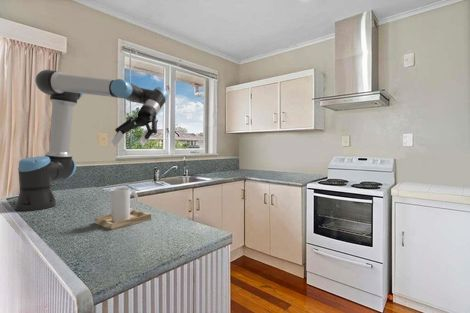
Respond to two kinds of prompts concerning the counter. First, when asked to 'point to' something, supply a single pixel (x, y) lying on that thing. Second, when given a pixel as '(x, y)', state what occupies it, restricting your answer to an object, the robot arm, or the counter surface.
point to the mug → (122, 203)
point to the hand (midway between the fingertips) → (126, 143)
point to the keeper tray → (134, 219)
